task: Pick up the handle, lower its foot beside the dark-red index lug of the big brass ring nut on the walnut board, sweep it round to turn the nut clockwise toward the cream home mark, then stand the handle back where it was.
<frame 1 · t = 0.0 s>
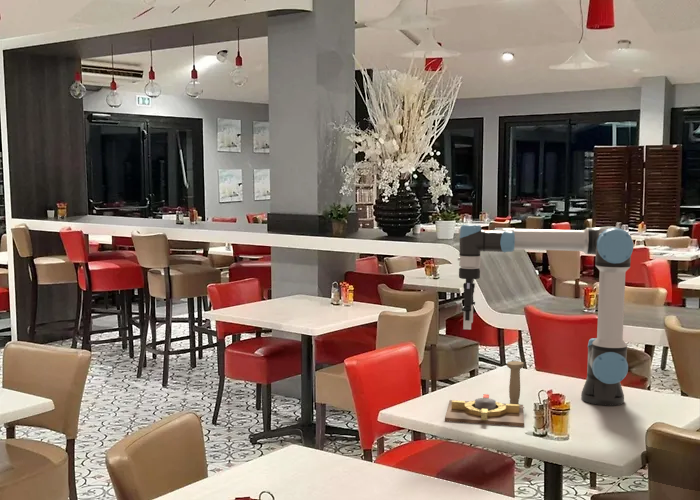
hand: (468, 325, 294), 28 cm above the table, fingers open, 13 cm apart
handle: (514, 404, 294), on the table
board: (485, 414, 280), on the table
ring nut: (485, 406, 280), point 3 cm above the table, hinge at 0.0°
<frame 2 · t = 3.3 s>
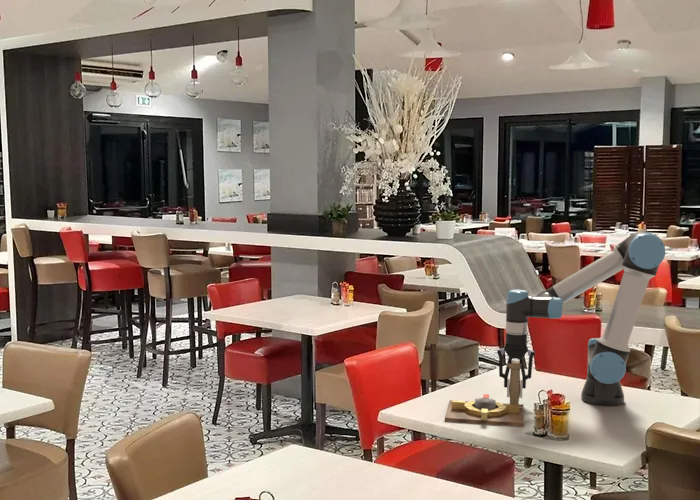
hand: (514, 396, 294), 3 cm above the table, fingers closed on handle, 4 cm apart
handle: (514, 404, 294), on the table, touching gripper
everything else where it was.
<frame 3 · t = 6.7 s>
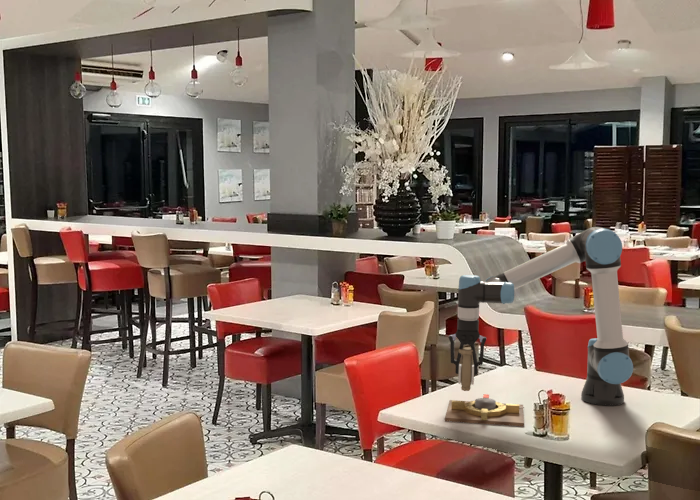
hand: (466, 383, 291), 8 cm above the table, fingers closed on handle, 4 cm apart
handle: (465, 390, 291), point 5 cm above the table, touching gripper
everything else where it was.
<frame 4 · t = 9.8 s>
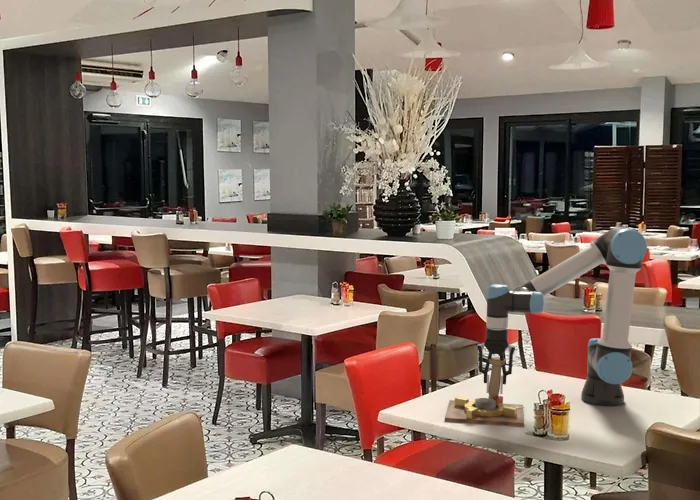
hand: (494, 392, 291), 5 cm above the table, fingers closed on handle, 4 cm apart
handle: (492, 400, 291), point 2 cm above the table, touching gripper, ring nut
ring nut: (485, 406, 280), point 3 cm above the table, hinge at 26.1°, touching handle
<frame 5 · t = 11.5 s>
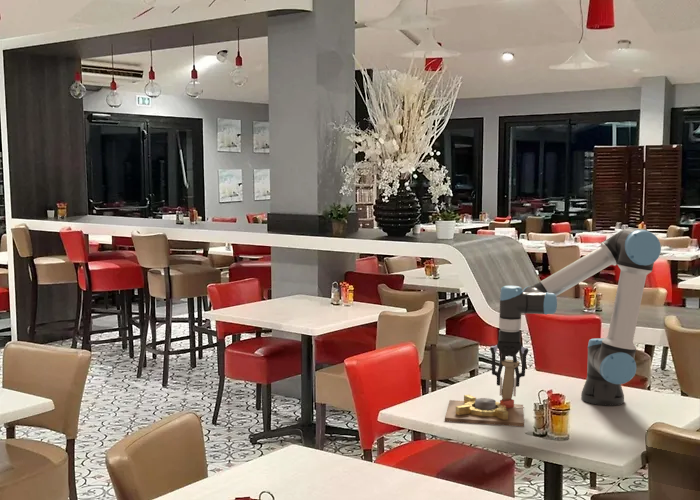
hand: (507, 394, 288), 5 cm above the table, fingers closed on handle, 4 cm apart
handle: (506, 403, 288), point 2 cm above the table, touching gripper, ring nut
ring nut: (485, 406, 280), point 3 cm above the table, hinge at 52.8°, touching handle
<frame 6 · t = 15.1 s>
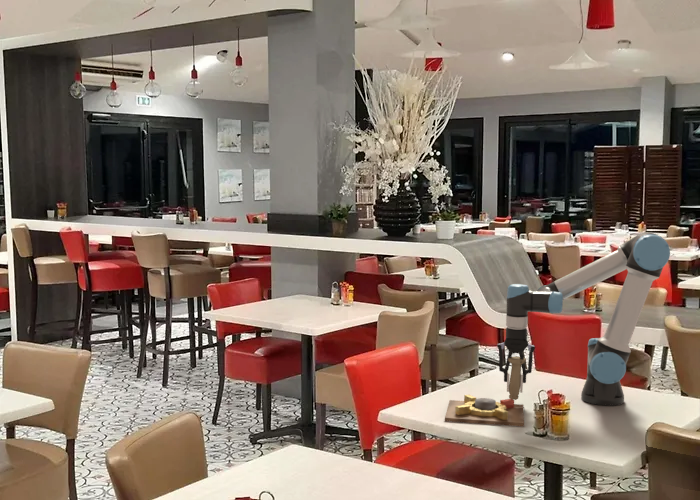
hand: (514, 391, 294), 5 cm above the table, fingers closed on handle, 4 cm apart
handle: (513, 399, 294), point 2 cm above the table, touching gripper
ring nut: (485, 406, 280), point 3 cm above the table, hinge at 53.4°
when the fingers open (4 cm above the table, at t = 15.3 s): handle drops 2 cm, on the table.
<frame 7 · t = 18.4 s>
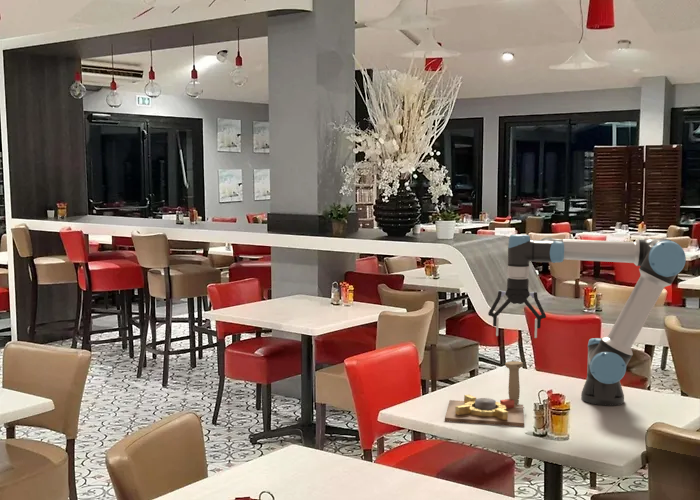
hand: (516, 336, 292), 25 cm above the table, fingers open, 13 cm apart
handle: (514, 404, 294), on the table
everything else where it was.
at the end: ring nut at +53° (first picture: +0°); the gripper is holding nothing; handle tilted 0° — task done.
